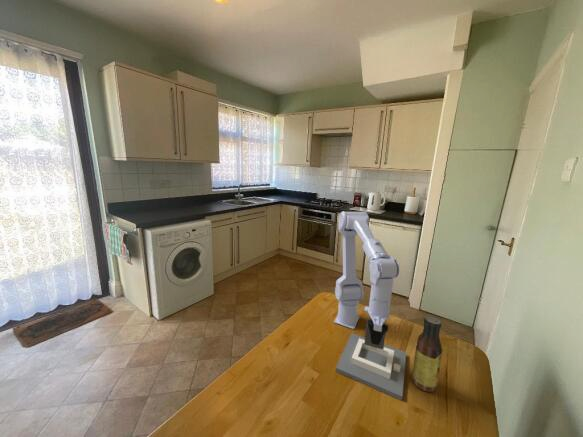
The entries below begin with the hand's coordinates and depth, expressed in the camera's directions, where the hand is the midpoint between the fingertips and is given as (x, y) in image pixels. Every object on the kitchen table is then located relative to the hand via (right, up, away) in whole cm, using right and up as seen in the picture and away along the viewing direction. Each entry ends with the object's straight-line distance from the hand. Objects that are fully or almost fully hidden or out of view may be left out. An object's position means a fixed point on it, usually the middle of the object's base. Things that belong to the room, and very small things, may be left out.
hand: (375, 338), depth 72 cm
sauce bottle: (+12, -11, -5) cm, 17 cm away
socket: (0, -9, +2) cm, 9 cm away
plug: (0, -3, +1) cm, 3 cm away
